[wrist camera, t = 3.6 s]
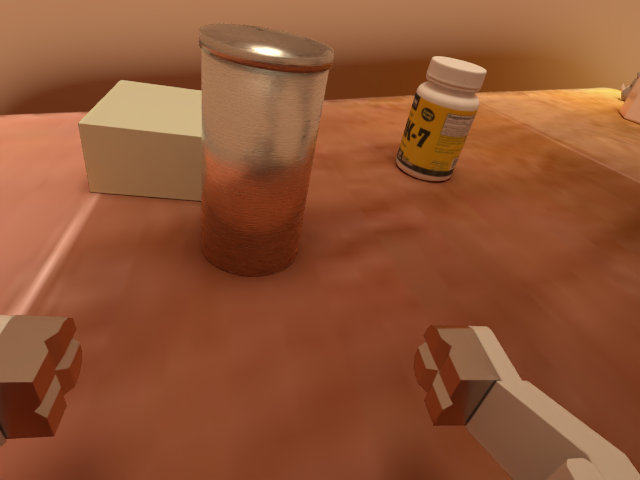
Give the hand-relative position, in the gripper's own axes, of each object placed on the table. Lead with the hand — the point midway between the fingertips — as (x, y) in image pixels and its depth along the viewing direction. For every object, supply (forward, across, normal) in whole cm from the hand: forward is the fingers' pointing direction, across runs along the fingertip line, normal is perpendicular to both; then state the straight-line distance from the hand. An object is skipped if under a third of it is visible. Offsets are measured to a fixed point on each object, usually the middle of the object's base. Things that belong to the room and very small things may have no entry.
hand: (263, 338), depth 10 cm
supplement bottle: (+23, -14, +6) cm, 27 cm away
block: (+19, +5, +6) cm, 20 cm away
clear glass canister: (+11, 0, +6) cm, 12 cm away
